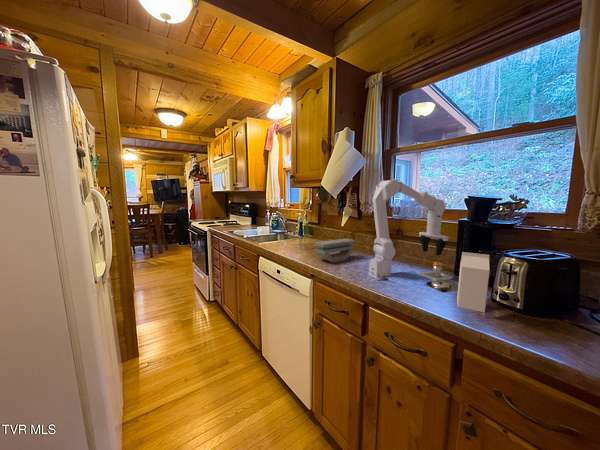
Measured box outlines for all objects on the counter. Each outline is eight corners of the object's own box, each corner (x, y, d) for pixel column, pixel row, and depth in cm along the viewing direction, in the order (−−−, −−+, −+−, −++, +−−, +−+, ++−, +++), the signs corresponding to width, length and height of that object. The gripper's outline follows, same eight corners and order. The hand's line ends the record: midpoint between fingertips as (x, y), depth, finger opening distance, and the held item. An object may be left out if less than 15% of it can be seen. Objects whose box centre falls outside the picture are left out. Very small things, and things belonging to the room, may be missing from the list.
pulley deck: (443, 296, 89) (443, 287, 89) (423, 287, 98) (424, 279, 97) (468, 292, 93) (469, 283, 93) (447, 284, 102) (448, 276, 101)
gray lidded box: (322, 264, 129) (323, 244, 128) (313, 261, 136) (314, 242, 134) (354, 258, 143) (355, 240, 142) (345, 255, 150) (345, 238, 149)
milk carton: (484, 316, 74) (491, 257, 72) (457, 310, 78) (462, 254, 76) (481, 308, 80) (487, 252, 78) (456, 302, 84) (461, 250, 82)
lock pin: (436, 280, 104) (438, 264, 104) (429, 278, 108) (431, 262, 107) (442, 280, 106) (444, 264, 105) (435, 277, 109) (437, 261, 108)
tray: (435, 284, 102) (436, 278, 101) (420, 278, 109) (420, 272, 109) (451, 282, 104) (452, 276, 104) (435, 276, 112) (436, 271, 112)
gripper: (454, 226, 106) (451, 256, 108) (427, 223, 120) (425, 249, 122) (442, 227, 104) (439, 257, 106) (416, 223, 118) (414, 250, 119)
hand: (431, 253), depth 113 cm, fingers open, 7 cm apart
